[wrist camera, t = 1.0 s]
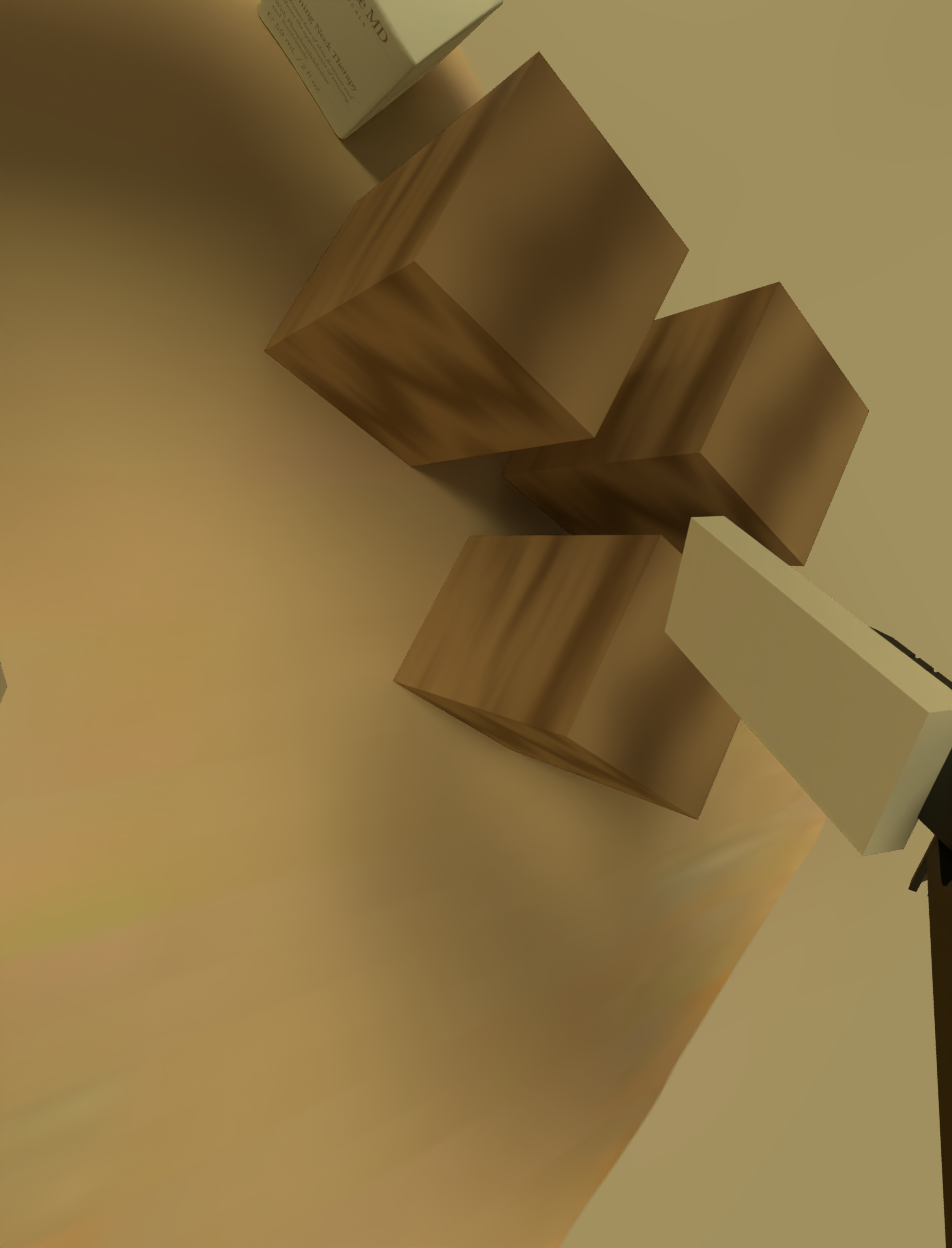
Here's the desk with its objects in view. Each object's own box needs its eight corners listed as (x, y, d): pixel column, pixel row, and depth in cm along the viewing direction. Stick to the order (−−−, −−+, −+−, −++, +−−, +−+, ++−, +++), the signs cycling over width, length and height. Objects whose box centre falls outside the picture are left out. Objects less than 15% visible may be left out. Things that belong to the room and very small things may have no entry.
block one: (501, 475, 44) (699, 452, 32) (570, 342, 45) (782, 276, 34) (603, 561, 48) (807, 569, 37) (662, 439, 50) (873, 409, 39)
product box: (250, 8, 34) (315, -106, 28) (343, -51, 36) (423, -169, 30) (340, 145, 37) (417, 68, 31) (422, 83, 39) (509, -1, 33)
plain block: (392, 680, 41) (566, 736, 29) (469, 535, 43) (661, 534, 31) (508, 748, 46) (697, 819, 34) (573, 615, 47) (773, 640, 36)
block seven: (264, 350, 36) (414, 260, 24) (360, 197, 38) (542, 44, 26) (414, 469, 40) (599, 442, 29) (493, 328, 42) (696, 249, 31)
